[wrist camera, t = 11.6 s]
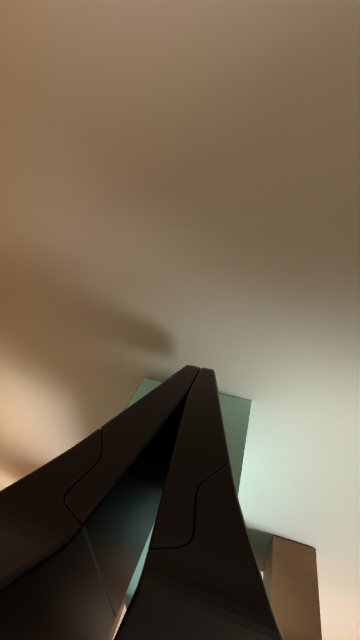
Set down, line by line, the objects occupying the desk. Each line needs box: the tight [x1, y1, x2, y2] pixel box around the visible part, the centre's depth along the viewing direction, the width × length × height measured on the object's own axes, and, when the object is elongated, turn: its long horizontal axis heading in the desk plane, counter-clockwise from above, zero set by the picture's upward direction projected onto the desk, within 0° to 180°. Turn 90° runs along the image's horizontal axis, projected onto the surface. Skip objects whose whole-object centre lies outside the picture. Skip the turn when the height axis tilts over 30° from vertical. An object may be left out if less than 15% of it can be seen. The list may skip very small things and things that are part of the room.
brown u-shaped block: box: [107, 536, 322, 640], centre depth 12 cm, size 10×4×8 cm, turn 92°
